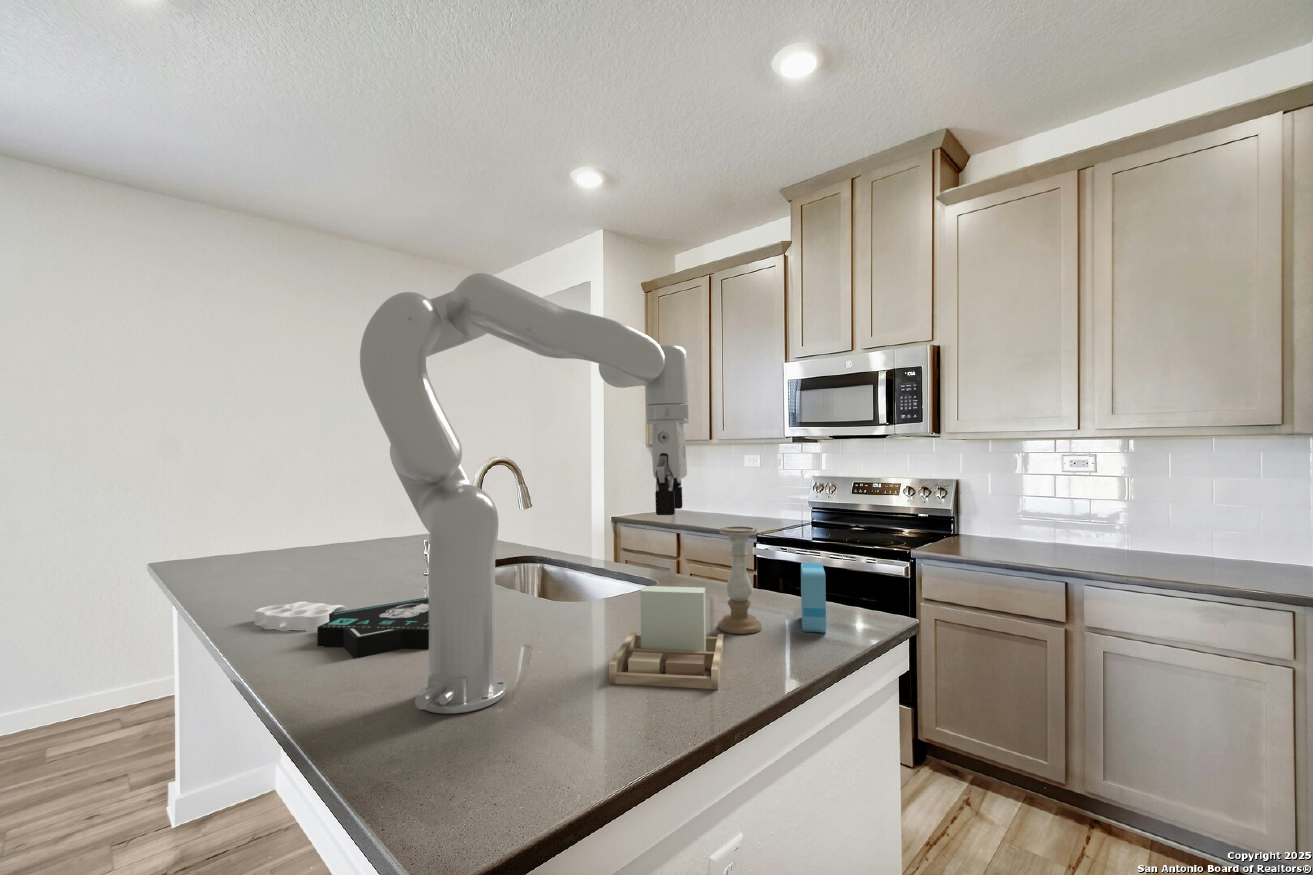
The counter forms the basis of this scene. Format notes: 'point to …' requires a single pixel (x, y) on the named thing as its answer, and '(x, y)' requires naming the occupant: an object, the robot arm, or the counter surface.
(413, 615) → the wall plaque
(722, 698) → the counter surface
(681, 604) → the sage panel
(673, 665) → the walnut offcut
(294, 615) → the white dimpled disc
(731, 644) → the counter surface
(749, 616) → the candle holder
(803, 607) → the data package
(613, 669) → the oak rack
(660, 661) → the pine offcut
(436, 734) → the counter surface
